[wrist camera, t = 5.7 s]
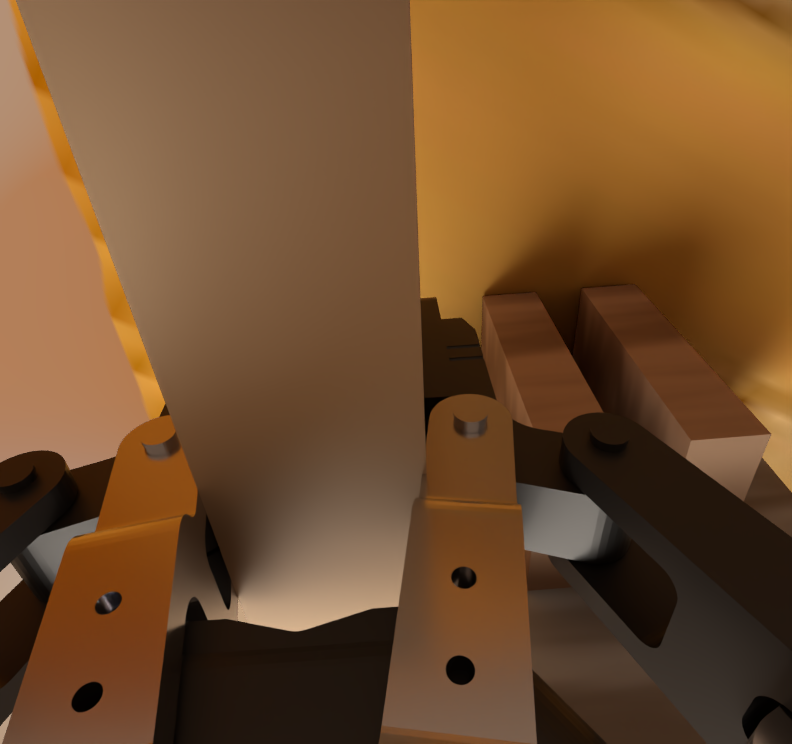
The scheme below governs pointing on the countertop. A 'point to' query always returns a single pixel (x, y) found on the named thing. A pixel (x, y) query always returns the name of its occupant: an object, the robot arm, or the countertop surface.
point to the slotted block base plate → (663, 417)
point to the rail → (265, 267)
